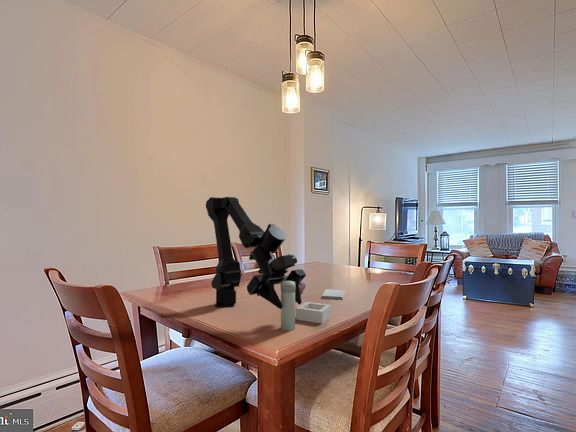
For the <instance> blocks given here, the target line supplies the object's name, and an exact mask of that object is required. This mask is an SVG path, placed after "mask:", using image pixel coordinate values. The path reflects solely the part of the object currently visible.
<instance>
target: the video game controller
mask: <svg viewBox="0 0 576 432" xmlns="http://www.w3.org/2000/svg"><path fill="white" fill-rule="evenodd" d="M306 285H307V284H306V283H305V282H302V281H301V282H300V283H299V290H300V296H302V295H303V294H304V293H305V289H306V287H307V286H306Z"/></svg>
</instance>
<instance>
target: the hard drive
mask: <svg viewBox="0 0 576 432" xmlns="http://www.w3.org/2000/svg"><path fill="white" fill-rule="evenodd" d="M345 293H346V291H345V290H342V289H327V288H326V289H325V290H324V291H323V294H322V295H321V299H324V300H325V299H327V300H339V301H340V300H341V301H343V299H344V298H345Z"/></svg>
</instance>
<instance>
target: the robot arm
mask: <svg viewBox="0 0 576 432" xmlns="http://www.w3.org/2000/svg"><path fill="white" fill-rule="evenodd" d="M205 208H206V213H207V216H208V217H209V218H210V219H211V220H212V222H213V226H214V233H215V235H214V236H215V241H216V247H217V253H218V262H217V265H216V268H215V275H214V277H213V278H212V280H211V282H210V283H211V284H210V285H211V288H212V289H215V305H214V306H215V307H235V304H236V303H237V290H235V289H236V288H237V287H240V284H241V283H240V282H241V279H242V270H241V263H240V261H236V259H235V258H234V256H233V255H234V254H233V249H232V243H231V237H230V236H231V235H230V229H229V224H228V218H229V217H231V220H232V221H233V223H234V224H235V226H236V227H237V229H238V231H239V234H238V238H239V240H240V242H241V245H242V246H243V248H245V249H251V248H253V249H252V250H251V251H250V254H249V257H248V259H249V261H253V260H254V261H255V263H256V265H257V266H258V270H257V272H258V274H257V275H255V274H254V275H253V277H252V278H251V279H250V281H249V282H248V284H247V286H246V290H247V292H248V295H249V296H253V295H256V296H257V297H259V296H260V297H261V298H262V299H265V300H266V301H268V302H269V303H271V304H272V305H274V306H275V307H277V308H278V310H281V309H282V307H283V306H282V303H281V298H280V297H279V295H278V293H277V291H276V289H275V285H281V282H282V281H294V282H295V284H296V291H295V303H296V304H298V305H302V304H303V302H302V297H301V296H302V295H300V290H299V283H300V282H302V281H303V280H304V279H305V277H306V276H307V274H306V272H305V270H304V269H302V268H301V269H299V268H298V269H293V270H291V271H290V272H289V268H292V267H295V266H296V264H297V263H298V260H297V259H298V258H297V257H296V255H295V254H294V252H293V253H288V254H286V255H281V256H278V257H275V255H274V253H276V252H277V251H278V250H279V249H280V247H281V246H282V245H283V243H284V242H285V240H286V238H288V237H287V235H288V234H287V233H286V231H285V230H284V229H282V228H281V227H279V226H277V225H276V224H275V223H268V225H267V226H266V227H267V228H266V229H265V231H264V230H263V229H262V228H261V227H260V226H259V225H257V224H255V223H254V222H253V221H252V220H251V218H250V217H249V215H248V214H247V212H246V211H245V209H244V207H242V205H241V204H240V201H239V199H238V198H237V197H235V196H225V197H214V196H210V197H209V198H208V200H206V202H205ZM288 272H289V273H288ZM287 273H288V275H286V274H287Z"/></svg>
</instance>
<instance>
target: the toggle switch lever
mask: <svg viewBox="0 0 576 432" xmlns="http://www.w3.org/2000/svg"><path fill="white" fill-rule="evenodd" d="M295 291H296V284H295V282H294V281H282V282H281V284H280V301H281V303H282V306H283V307H282V309H280V330H282V331H284V332H287V331H288V332H290V331H294V330H295V329H296V301H295Z"/></svg>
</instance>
